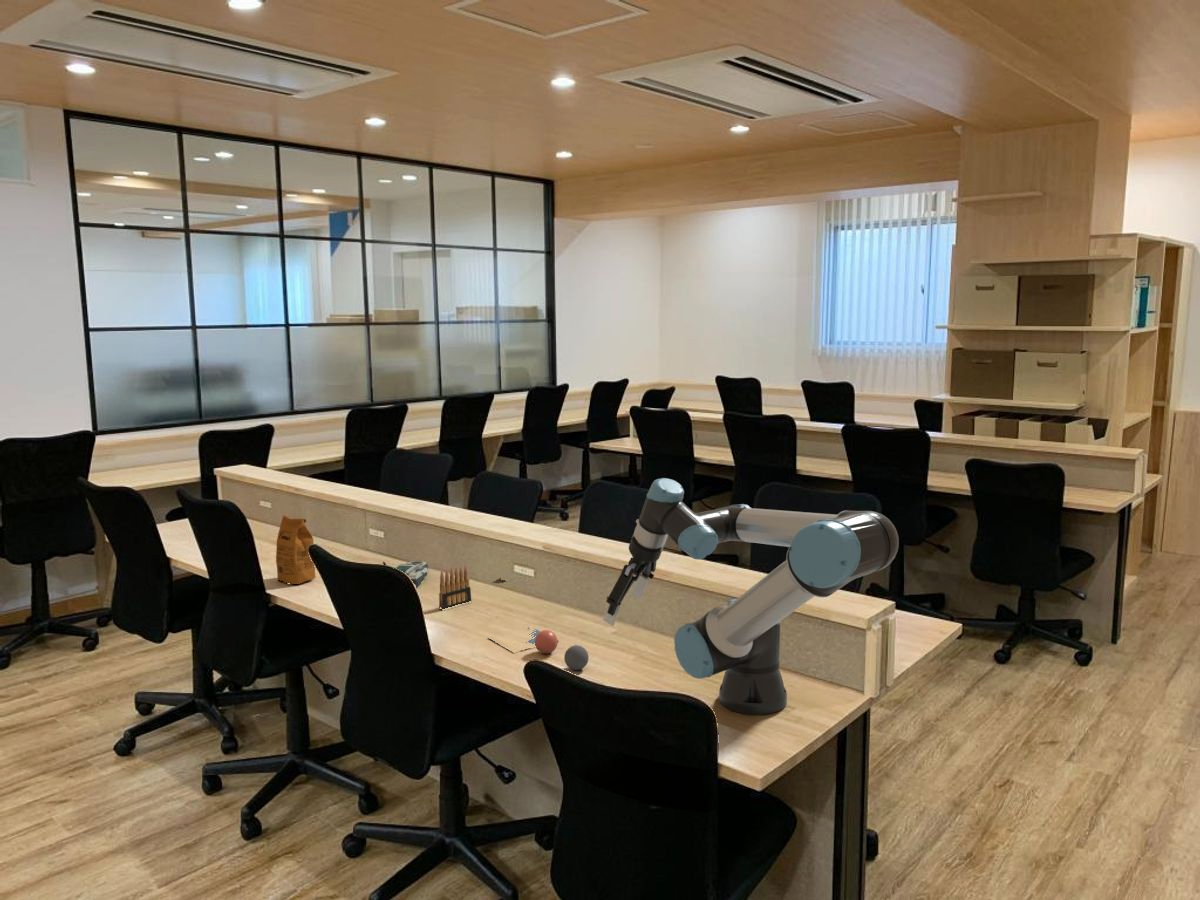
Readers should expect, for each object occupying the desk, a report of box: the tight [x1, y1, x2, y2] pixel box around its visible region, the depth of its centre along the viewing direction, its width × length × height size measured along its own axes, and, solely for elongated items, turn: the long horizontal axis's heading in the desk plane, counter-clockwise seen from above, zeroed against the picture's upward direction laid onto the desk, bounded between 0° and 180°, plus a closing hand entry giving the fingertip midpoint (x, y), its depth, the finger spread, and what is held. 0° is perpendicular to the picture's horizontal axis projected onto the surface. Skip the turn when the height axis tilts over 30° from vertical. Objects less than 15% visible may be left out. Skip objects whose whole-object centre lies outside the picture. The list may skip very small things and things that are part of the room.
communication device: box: [382, 560, 429, 588], centre depth 308 cm, size 12×24×9 cm, turn 174°
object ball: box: [535, 629, 559, 655], centre depth 238 cm, size 6×6×6 cm
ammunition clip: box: [438, 564, 472, 609], centre depth 277 cm, size 11×2×12 cm, turn 135°
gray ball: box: [564, 644, 589, 671], centre depth 227 cm, size 6×6×6 cm
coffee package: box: [275, 514, 316, 585], centre depth 306 cm, size 10×12×22 cm
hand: (622, 609), depth 219 cm, fingers open, 13 cm apart
